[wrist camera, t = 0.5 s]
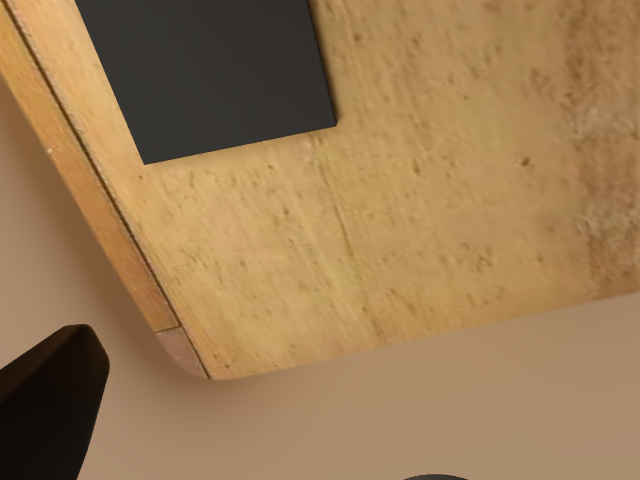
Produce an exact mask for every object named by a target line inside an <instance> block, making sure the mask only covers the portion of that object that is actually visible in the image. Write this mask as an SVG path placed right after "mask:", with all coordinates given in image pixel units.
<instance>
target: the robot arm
mask: <svg viewBox="0 0 640 480" xmlns="http://www.w3.org/2000/svg"><path fill="white" fill-rule="evenodd" d="M109 368H110V363H109V358H108V355H107V354H106V352H105V350H104V348H103V346H102V345H101V343H100V341H99V339H98V337H97V335H96V334H95V332H94V330H93V329H92V327H90V326H89V325H86V324H77V325H68V326H64V327H62V328H61V329H59V330H58V331H56V332H55V333H53V334H52V335H50V336H49V337H48V338H46V339H44V340H43V341H41V342H40V343H39V344H37V345H36V346H34V347H33V348H31V349H30V350H28V351H27V352H25V353H24V354H22V355H21V356H19V357H18V358H17V359H15V360H14V361H12V362H11V363H9V364H8V365H6V366H5V367H3V368H2V369H0V480H77V477H78V475H79V472H80V469H81V467H82V464H83V461H84V459H85V456H86V453H87V450H88V446H89V443H90V440H91V437H92V433H93V429H94V425H95V422H96V418H97V414H98V411H99V407H100V404H101V400H102V396H103V392H104V389H105V385H106V381H107V378H108V374H109Z"/></svg>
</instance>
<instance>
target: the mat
mask: <svg viewBox="0 0 640 480" xmlns="http://www.w3.org/2000/svg"><path fill="white" fill-rule="evenodd" d="M75 2H76V5H77V7H78V9H79V12H80V14H81V16H82V19H83V21H84V23H85V26H86V28H87V31H88V33H89V35H90V38H91V40H92V42H93V45H94V47H95V50H96V52H97V54H98V57H99V59H100V61H101V64H102V66H103V69H104V71H105V73H106V76H107V78H108V80H109V83H110V85H111V87H112V90H113V92H114V95H115V97H116V99H117V102H118V104H119V106H120V109H121V111H122V114H123V116H124V118H125V121H126V123H127V125H128V128H129V130H130V132H131V135H132V137H133V140H134V142H135V144H136V147H137V149H138V151H139V154H140V156H141V159H142V161H143V163H144V165H146V164H151V163H156V162H161V161H166V160H171V159H176V158H181V157H186V156H191V155H196V154H201V153H206V152H211V151H216V150H221V149H226V148H231V147H236V146H241V145H246V144H251V143H256V142H261V141H265V140H270V139H275V138H280V137H285V136H290V135H295V134H300V133H305V132H310V131H315V130H320V129H325V128H330V127H335V126H336V125H337V119H336V115H335V110H334V106H333V102H332V98H331V93H330V89H329V85H328V81H327V77H326V72H325V68H324V64H323V60H322V55H321V51H320V47H319V43H318V38H317V34H316V30H315V26H314V21H313V17H312V13H311V9H310V5H309V0H75Z"/></svg>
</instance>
